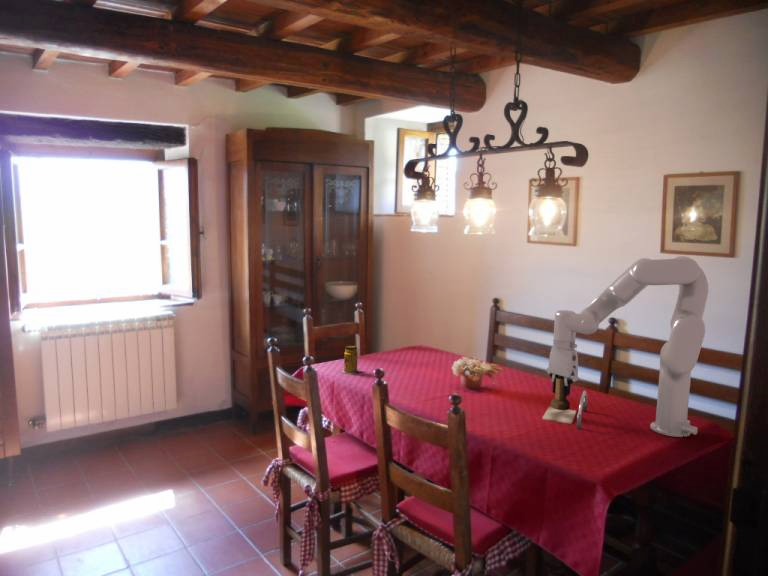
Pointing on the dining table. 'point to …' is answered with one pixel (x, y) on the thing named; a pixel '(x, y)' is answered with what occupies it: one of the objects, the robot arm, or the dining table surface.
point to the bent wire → (581, 408)
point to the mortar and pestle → (560, 396)
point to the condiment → (350, 360)
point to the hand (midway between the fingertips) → (561, 393)
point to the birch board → (559, 415)
